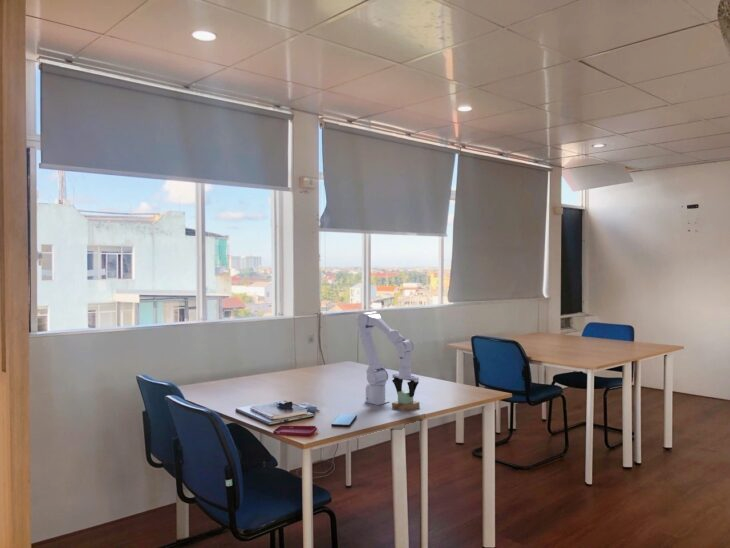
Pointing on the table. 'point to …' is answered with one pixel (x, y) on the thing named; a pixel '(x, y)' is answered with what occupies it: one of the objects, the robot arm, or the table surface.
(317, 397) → the table surface
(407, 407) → the walnut block
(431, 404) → the table surface
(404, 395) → the green cube
